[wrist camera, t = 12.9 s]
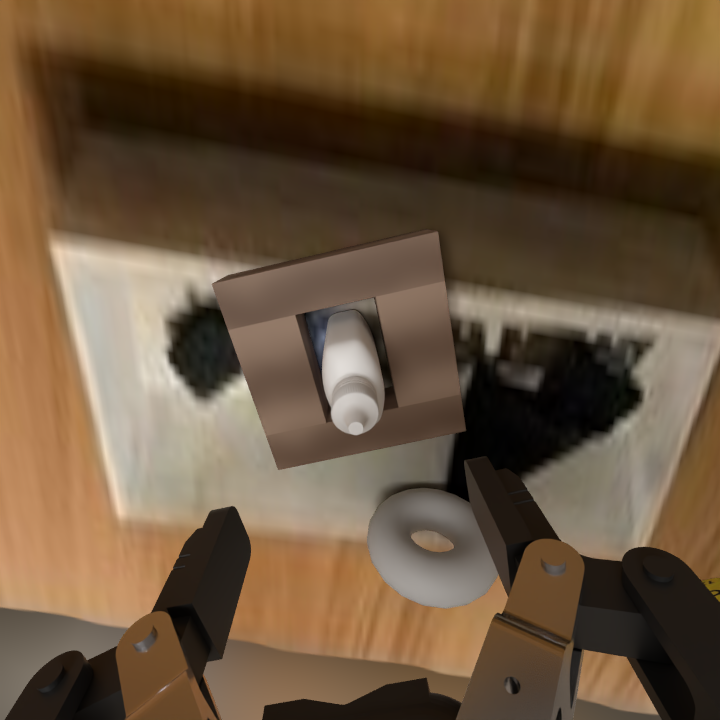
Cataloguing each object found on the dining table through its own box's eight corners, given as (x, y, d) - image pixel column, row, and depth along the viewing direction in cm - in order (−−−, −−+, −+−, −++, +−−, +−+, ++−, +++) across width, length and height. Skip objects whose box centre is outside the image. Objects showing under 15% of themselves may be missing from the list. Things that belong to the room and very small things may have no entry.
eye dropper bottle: (314, 372, 30) (296, 468, 19) (332, 302, 28) (324, 362, 17) (369, 385, 30) (383, 486, 19) (390, 317, 28) (420, 386, 17)
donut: (363, 510, 35) (369, 620, 25) (364, 478, 33) (372, 582, 24) (473, 511, 35) (519, 619, 26) (479, 480, 34) (529, 581, 25)
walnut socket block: (227, 275, 27) (211, 283, 24) (426, 228, 26) (437, 231, 23) (285, 443, 32) (278, 469, 29) (453, 408, 31) (465, 430, 28)
